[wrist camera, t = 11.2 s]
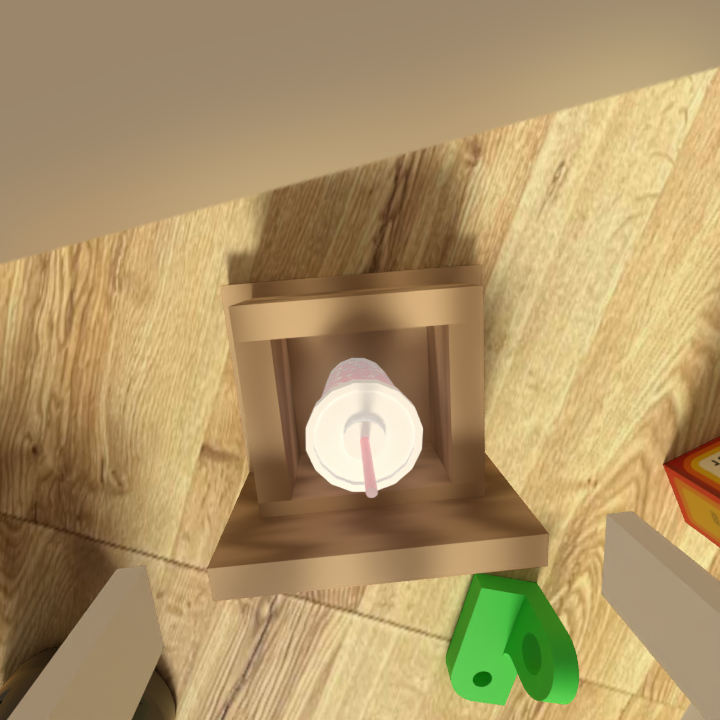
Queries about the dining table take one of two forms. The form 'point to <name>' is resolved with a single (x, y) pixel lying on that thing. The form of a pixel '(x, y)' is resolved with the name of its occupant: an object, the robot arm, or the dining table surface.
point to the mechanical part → (510, 644)
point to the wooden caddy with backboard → (393, 503)
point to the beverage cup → (363, 429)
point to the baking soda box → (698, 487)
